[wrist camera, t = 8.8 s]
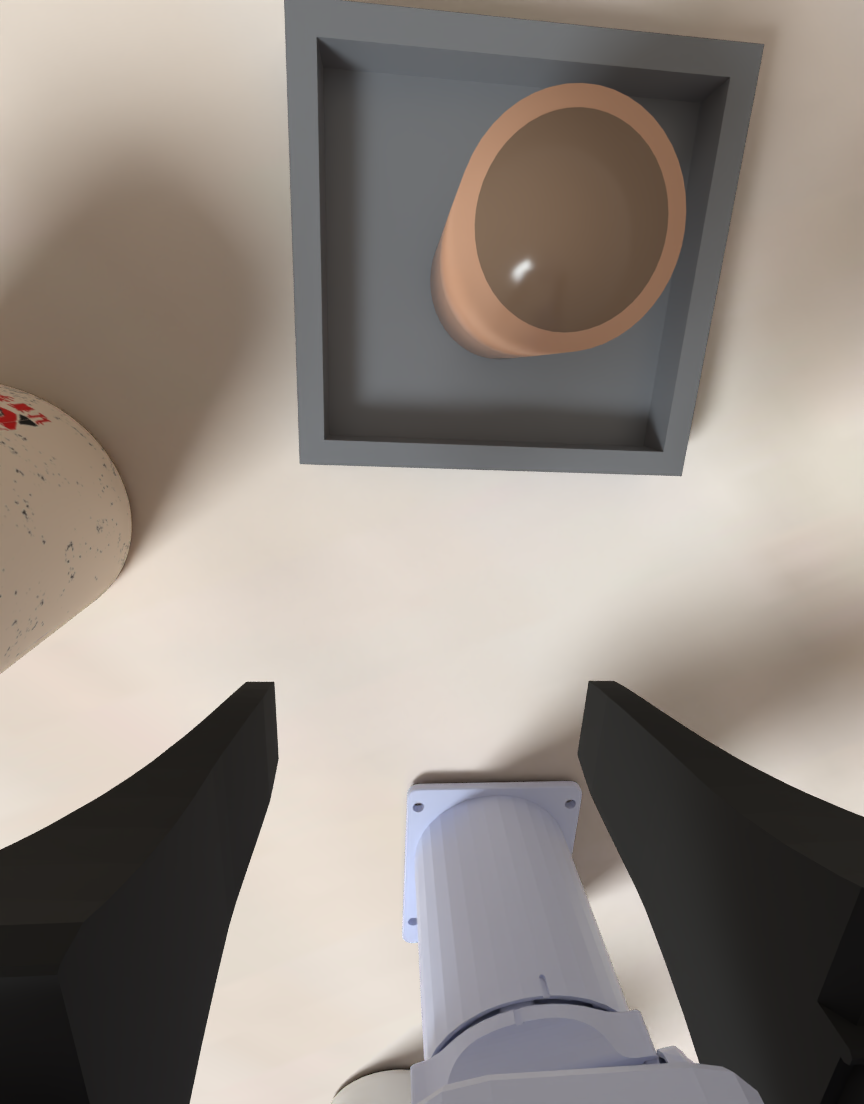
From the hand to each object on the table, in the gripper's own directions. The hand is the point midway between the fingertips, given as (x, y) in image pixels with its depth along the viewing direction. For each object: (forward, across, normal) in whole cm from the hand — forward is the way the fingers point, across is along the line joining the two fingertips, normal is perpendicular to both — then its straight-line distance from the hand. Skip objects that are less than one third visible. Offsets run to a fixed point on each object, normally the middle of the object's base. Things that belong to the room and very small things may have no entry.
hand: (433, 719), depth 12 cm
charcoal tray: (+9, -2, -10) cm, 14 cm away
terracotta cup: (+9, -2, -10) cm, 14 cm away
